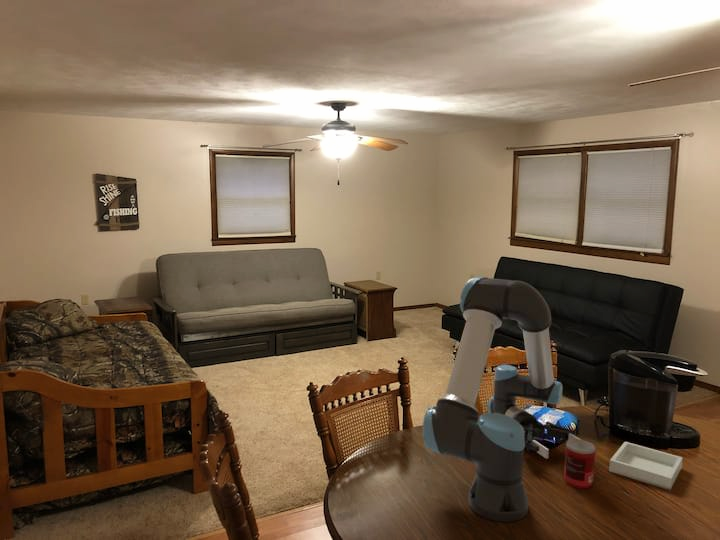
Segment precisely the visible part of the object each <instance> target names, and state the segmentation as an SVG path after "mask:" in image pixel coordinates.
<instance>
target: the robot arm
mask: <svg viewBox="0 0 720 540" xmlns="http://www.w3.org/2000/svg"><path fill="white" fill-rule="evenodd" d="M542 295H543V294H541V293H540V292H539V291H538V290H537V288H535V287H533V285H531V284H529V283H527V282H524V281H522V280H512V279H502V278H492V277H486V276H481V277H472V278H470V279H469V280H467V282H466V283H465V284H464V285H463V288H462V290H461V293H460V300H459V307H460V308H459V309H460V311H461V312H462V316H463V319H464V320H465V321H466V322H465V324H464V328H463V331H462V335H461V339H460V342H459V344H458V345H459V346H458V349H457V352H456V354H455V355H456V356H455V359H454V362H453V366H452V369H451V372H450V376H449V380H448V383H447V385H446V390H445V393H444V396H442V397H439V398H437V402H436V404H435V406H434V405H432V406H429V407H428V408H427V410H426V411H425V413H424V417H423V420H422V437H423V442H424V444H425V447H426V448H427V449H428V450H430V451H432V452H434V453H437V454H440V455H441V456H449V457H452V458H455V459H459V460H462V461H466V462H469V463H472V464H476V472H475V473H476V474H475V475H474V479H473V481H472V483H471V486H470V489H469V491H468V505H469V507H470V508H471V509H472V511H473V512H475V513H476V514H477V515H479V516H480V517H483V518H484V519H488V520H492V521H495V522H503V523H506V522H507V523H508V522H515V521H519V520H521V519H523V518H524V517H526V516H527V514H528V513H529V512H528V511H529V499H528V495H527V491H526V488H525V485H524V482H523V476H524V456H525V448H526V451H528V452H530V451H533V452H535V453H537V454H539V455H540V456H542V457H543V458H545V459H549V452H550V449H549V448H547V447H546V446H544V445H543V444H541V443H540V442H538V441H537V440H535V439H533V438H539V437H545V438H549V437H551V438H556V439H561V440H566V441H569V440H572V439H580V440H582V439H581V438H579V437H578V436H577V435H576V433H577V432H576V430H574V429H571V428H567V427H565V426H562V425H558V424H554V423H552V422H550V421H546V422H545V424H544V423H542V422H539V421H538V419H537V417H536V416H535V415H533V414H531V413H530V412H528V411H527V410H524V409H523V408H521V407H519V406H518V405H517V404H516V402H517V401H516V400H517V398H522V399H525V400H527V399H528V400H531V401H537V402H540V403H544V404H550V405H551V404H552V405H558V404H560V402H561V401H562V397H563V388H564V387H563V384H562V382H561V381H558V380H555V377H554V376H555V375H554V368H553V367H554V366H553V359H552V358H553V357H552V348H551V340H550V338H551V337H550V331H549V329H550V327H551V325H552V315H551V309H550V307H549V305H548V303H547V302H546V300H545V298H544V297H543V296H542ZM504 320H512V321H513V320H514V321H516V322H517V324H518V327H519V328H520V329H521V330H522V334H523V340H524V341H523V342H524V343H523V344H524V349H525V353H526V354H525V356H526V362H527V368H528V375H525V374H519V371H518V368H517V367H516V366H513V365H510V364H500V365H497V366H496V367H495V370H494V377H493V395H492V396H491V397H490V398H489V399H488V402H487V403H486V410H487V412H484V413H482V414H480V415H479V410H478V409H477V407H476V402H477V398H478V395H479V391H480V387H481V384H482V379H483V375H484V371H485V368H486V364H487V361H488V357H489V354H490V349H491V345H492V341H493V337H494V334H495V330H496V329H499V328H500V327H502V324H503V321H504ZM546 429H547V430H546ZM525 438H526V439H527V440H526V439H525Z"/></svg>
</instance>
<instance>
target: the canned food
mask: <svg viewBox="0 0 720 540" xmlns="http://www.w3.org/2000/svg"><path fill="white" fill-rule="evenodd" d="M580 439H581V438H580ZM580 439H572V440H569V441H568V440H566V444H565V456H564V470H563V471H564V472H563V478H564V481H565V482H566V483H567V484H568V485H569V486H571V487H574V488H576V489H588V488H590V487H592V484H593V481H594V473H595V472H594V470H595V469H594V468H595V460H596V459H595V457H596V446H595V445H594V444H593V443H592V442H589V441H587V440H584V439H581V440H580Z"/></svg>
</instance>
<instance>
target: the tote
mask: <svg viewBox="0 0 720 540" xmlns="http://www.w3.org/2000/svg"><path fill="white" fill-rule="evenodd" d="M683 460H684V459H683V457H682V456H680V455H674V454H671V453H668V452H664V451H662V450H657V449H653V448H651V447H650V448H649V447H647V446H643V445H641V444H640V445H639V444H635V443H631V442H629V441H624V442H623V443H622V444H621V446H620V447H619V448H618V449H617V451H616V452H615V453H614V455H613V456H611V458H610V459H609V466H608V468H609V469H608V471H609V472H611V473H614V474H616V475H620V476H624V477H626V478H630V479H633V480H636V481H639V482H643V483H646V484H648V485H650V486H651V485H652V486H655V487H657V488H658V487H659V488H662V489H665V490H667V491H672V488H673V486H674V484H675V482H676V480H677V478H678V476H679V474H680V472H681V470H682V467H683Z"/></svg>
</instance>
